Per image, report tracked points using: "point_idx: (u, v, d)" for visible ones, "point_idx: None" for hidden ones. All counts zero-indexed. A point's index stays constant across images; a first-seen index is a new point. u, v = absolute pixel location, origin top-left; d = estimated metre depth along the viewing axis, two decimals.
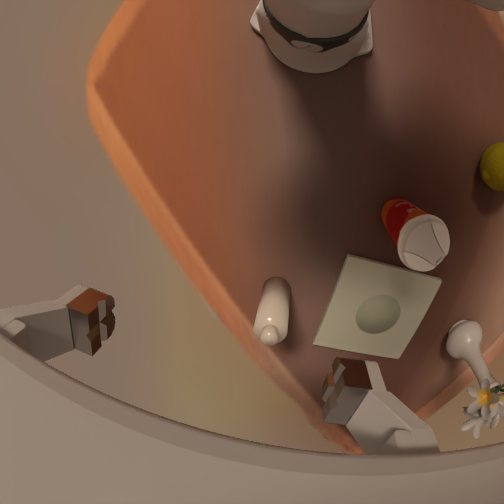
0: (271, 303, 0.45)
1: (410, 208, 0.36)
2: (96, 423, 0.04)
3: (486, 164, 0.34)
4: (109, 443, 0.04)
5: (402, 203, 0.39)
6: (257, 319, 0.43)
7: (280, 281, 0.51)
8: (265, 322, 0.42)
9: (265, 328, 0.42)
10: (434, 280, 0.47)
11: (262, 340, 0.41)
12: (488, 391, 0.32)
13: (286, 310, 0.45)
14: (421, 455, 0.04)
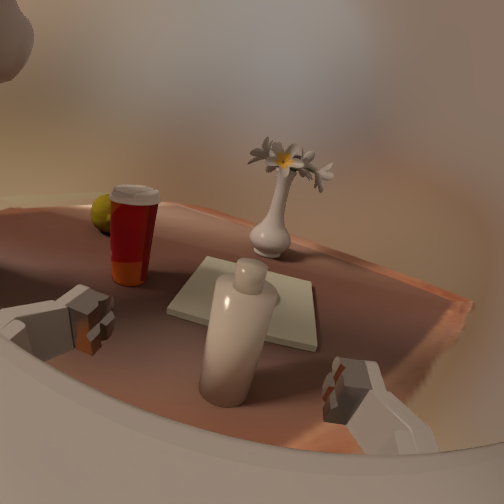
0: (209, 322, 0.24)
1: (110, 227, 0.40)
2: (96, 423, 0.04)
3: (101, 215, 0.54)
4: (109, 443, 0.04)
5: None
6: (227, 304, 0.22)
7: None
8: (228, 289, 0.23)
9: (236, 280, 0.23)
10: (206, 259, 0.54)
11: (256, 270, 0.22)
12: (278, 160, 0.57)
13: None
14: (421, 455, 0.04)
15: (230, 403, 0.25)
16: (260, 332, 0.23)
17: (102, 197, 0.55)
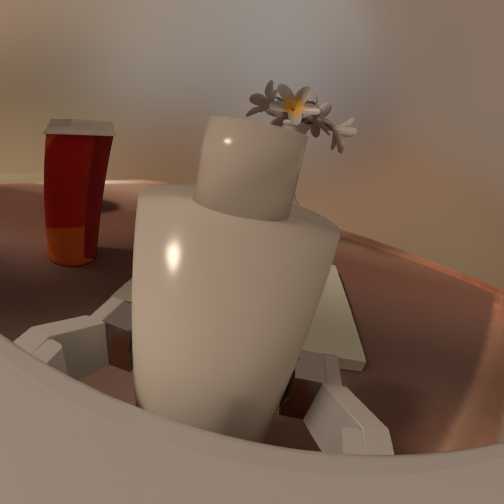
0: (133, 319, 0.08)
1: None
2: (96, 423, 0.04)
3: None
4: (109, 443, 0.04)
5: None
6: (161, 247, 0.05)
7: None
8: (176, 202, 0.06)
9: (203, 170, 0.06)
10: None
11: None
12: (286, 107, 0.41)
13: None
14: (421, 455, 0.04)
15: None
16: (285, 353, 0.07)
17: None
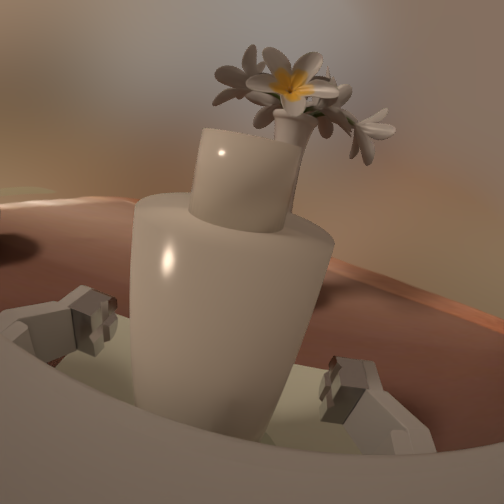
0: (131, 326, 0.08)
1: None
2: (96, 423, 0.04)
3: None
4: (109, 443, 0.04)
5: None
6: (156, 260, 0.06)
7: None
8: (171, 213, 0.06)
9: (198, 182, 0.06)
10: None
11: None
12: (277, 85, 0.22)
13: None
14: (421, 455, 0.04)
15: None
16: (278, 362, 0.07)
17: None
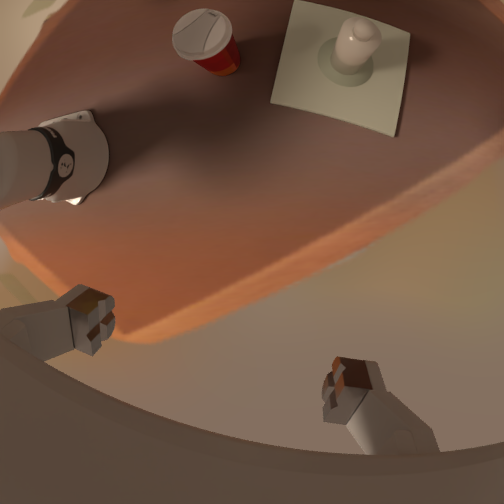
0: (337, 42, 0.30)
1: None
2: (96, 423, 0.04)
3: None
4: (109, 443, 0.04)
5: None
6: (349, 47, 0.27)
7: (331, 53, 0.36)
8: (350, 37, 0.26)
9: (355, 34, 0.25)
10: (294, 7, 0.35)
11: (368, 34, 0.24)
12: None
13: None
14: (421, 455, 0.04)
15: (350, 74, 0.37)
16: (369, 55, 0.29)
17: None
